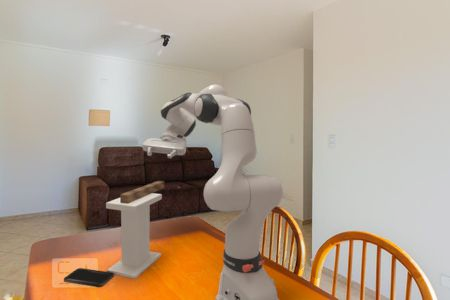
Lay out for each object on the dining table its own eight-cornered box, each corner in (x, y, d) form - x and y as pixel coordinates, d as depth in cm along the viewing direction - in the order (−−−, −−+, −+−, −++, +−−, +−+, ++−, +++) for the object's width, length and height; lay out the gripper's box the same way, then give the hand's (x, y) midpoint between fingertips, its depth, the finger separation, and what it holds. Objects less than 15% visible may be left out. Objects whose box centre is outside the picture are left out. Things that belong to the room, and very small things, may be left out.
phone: (101, 285, 89) (62, 279, 92) (101, 288, 89) (62, 282, 92) (115, 272, 97) (78, 267, 100) (115, 275, 97) (78, 270, 100)
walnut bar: (158, 187, 121) (158, 180, 121) (164, 188, 121) (164, 181, 120) (120, 202, 97) (120, 194, 96) (127, 203, 96) (127, 195, 95)
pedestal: (136, 251, 115) (136, 191, 113) (161, 255, 112) (161, 194, 110) (106, 272, 98) (105, 202, 96) (135, 278, 95) (135, 206, 93)
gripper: (148, 132, 132) (135, 147, 120) (188, 137, 129) (180, 152, 118) (149, 144, 135) (137, 158, 123) (189, 148, 133) (181, 164, 121)
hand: (159, 155), depth 120 cm, fingers open, 8 cm apart
